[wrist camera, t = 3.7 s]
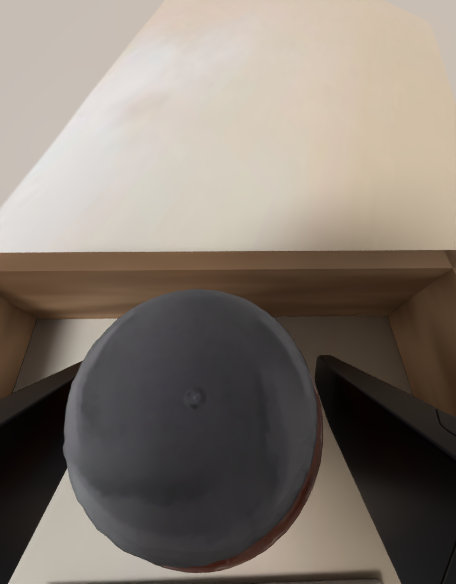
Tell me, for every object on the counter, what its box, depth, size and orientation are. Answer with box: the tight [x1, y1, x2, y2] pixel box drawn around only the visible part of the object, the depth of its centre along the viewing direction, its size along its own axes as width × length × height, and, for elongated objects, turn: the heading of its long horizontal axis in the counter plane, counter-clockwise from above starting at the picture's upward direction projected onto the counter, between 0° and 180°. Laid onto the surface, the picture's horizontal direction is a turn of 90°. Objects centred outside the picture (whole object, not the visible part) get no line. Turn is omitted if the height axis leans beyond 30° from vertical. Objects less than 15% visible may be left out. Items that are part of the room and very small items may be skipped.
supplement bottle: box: [63, 289, 323, 573], centre depth 9 cm, size 6×6×11 cm
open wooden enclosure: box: [0, 250, 456, 417], centre depth 12 cm, size 13×24×6 cm, turn 91°
